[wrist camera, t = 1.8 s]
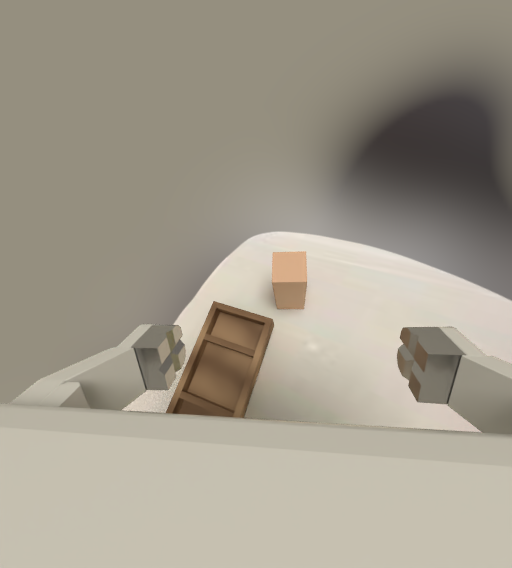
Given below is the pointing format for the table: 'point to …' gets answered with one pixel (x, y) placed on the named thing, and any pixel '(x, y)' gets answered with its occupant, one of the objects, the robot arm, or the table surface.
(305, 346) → the table surface
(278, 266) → the peach upright block
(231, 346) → the brown wooden divided tray
